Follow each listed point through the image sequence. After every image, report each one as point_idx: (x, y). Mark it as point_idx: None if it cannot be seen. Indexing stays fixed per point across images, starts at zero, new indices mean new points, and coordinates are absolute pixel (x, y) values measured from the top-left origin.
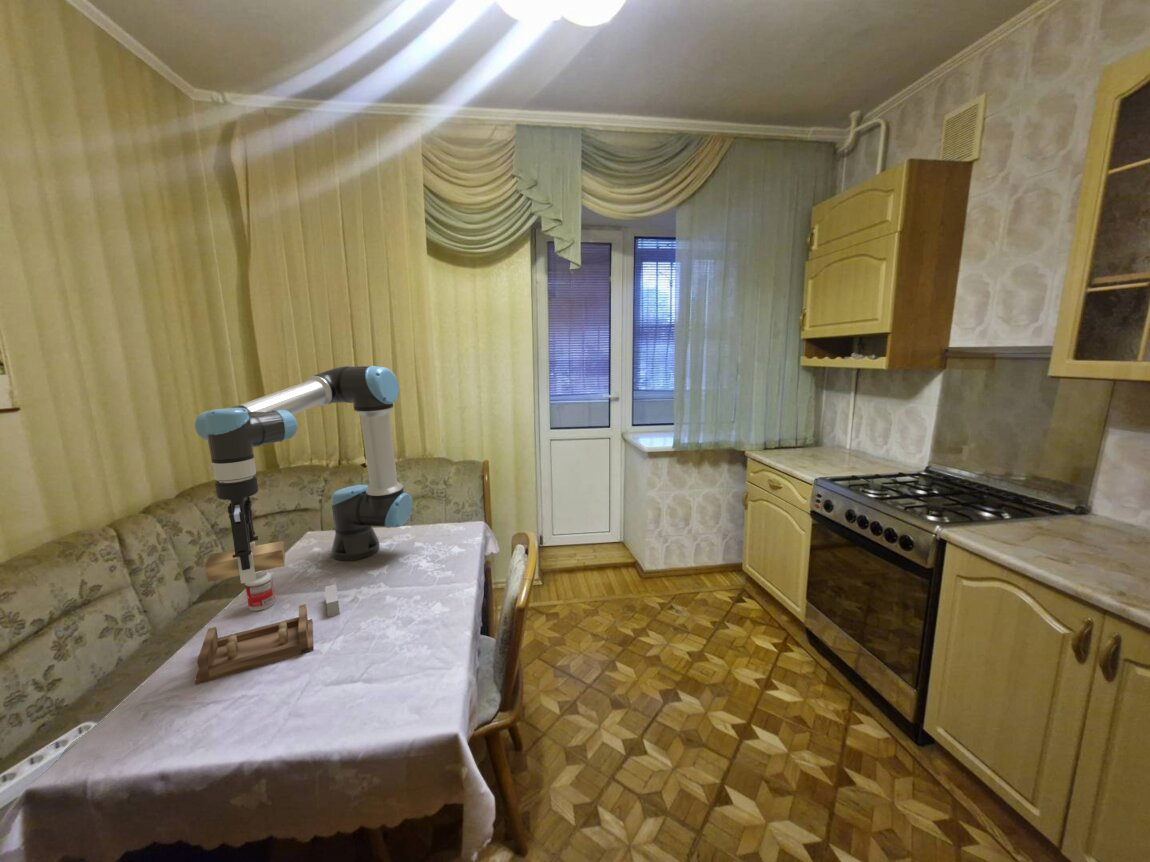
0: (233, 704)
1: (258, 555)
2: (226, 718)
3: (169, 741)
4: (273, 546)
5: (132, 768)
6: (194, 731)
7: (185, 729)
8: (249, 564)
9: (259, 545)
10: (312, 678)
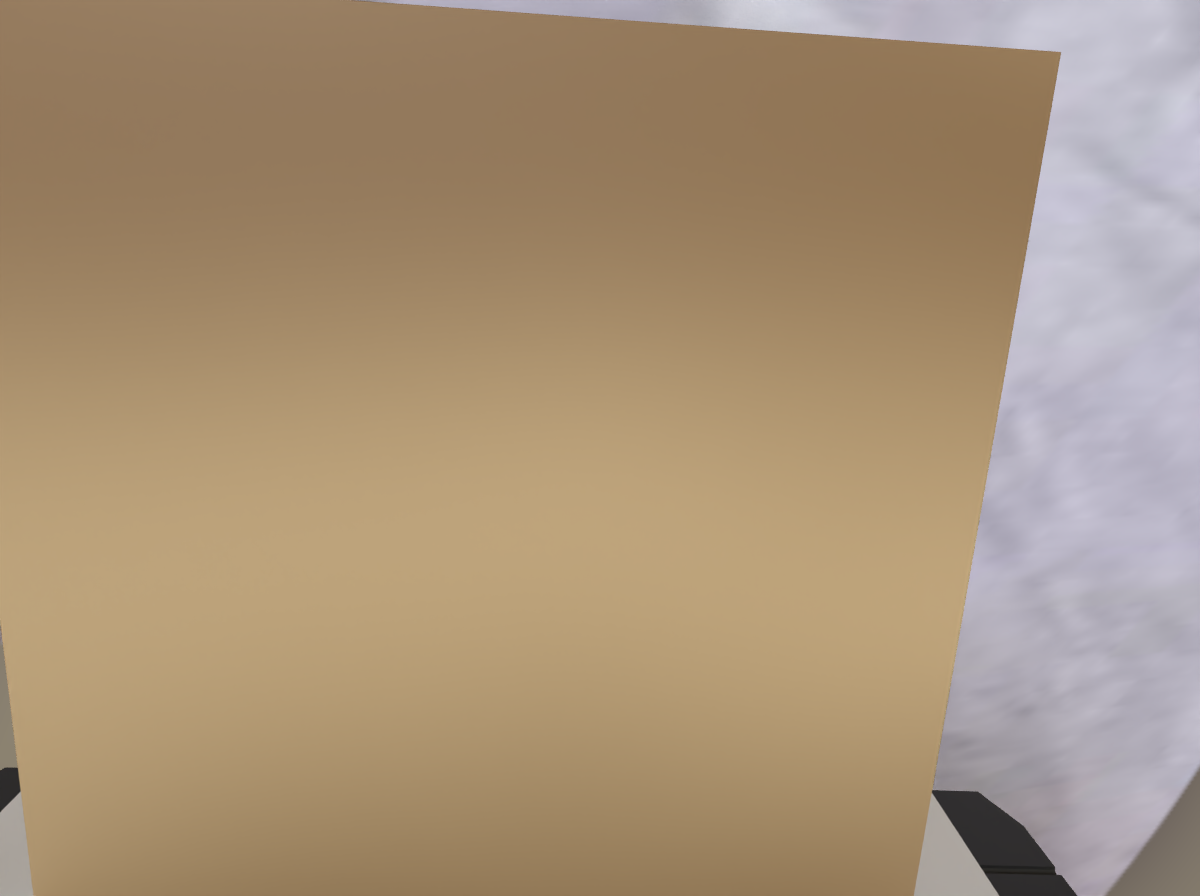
0: (1002, 518)
1: (917, 763)
2: (1091, 540)
3: (1076, 732)
4: (448, 357)
5: (1144, 821)
6: (1083, 653)
7: (1040, 687)
8: (1003, 859)
9: (66, 782)
10: (1070, 130)
